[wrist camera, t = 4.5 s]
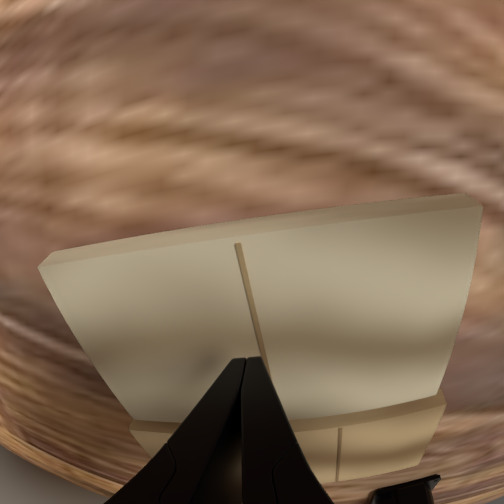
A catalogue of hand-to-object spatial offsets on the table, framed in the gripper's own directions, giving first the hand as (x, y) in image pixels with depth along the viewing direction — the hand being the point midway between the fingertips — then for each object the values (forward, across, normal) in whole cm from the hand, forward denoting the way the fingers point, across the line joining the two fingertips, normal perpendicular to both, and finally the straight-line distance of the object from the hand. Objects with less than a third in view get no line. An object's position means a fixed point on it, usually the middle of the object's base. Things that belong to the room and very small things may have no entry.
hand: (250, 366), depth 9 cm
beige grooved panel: (+4, 0, +2) cm, 4 cm away
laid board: (+4, 0, +12) cm, 13 cm away
